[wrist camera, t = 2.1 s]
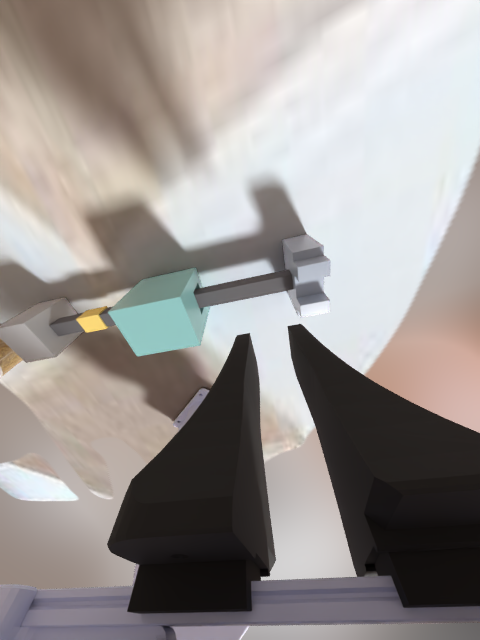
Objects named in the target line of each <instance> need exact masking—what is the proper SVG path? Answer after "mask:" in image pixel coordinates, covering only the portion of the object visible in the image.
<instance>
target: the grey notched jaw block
mask: <svg viewBox="0 0 480 640" xmlns="http://www.w3.org/2000/svg"><path fill="white" fill-rule="evenodd" d="M282 244H283V253H284V262H285V270H290V272H291V274H292V279H293V290H288V295H289V297H290V299H291V302H292V304H293V306H294V308H295V310H296V313H297V315H298V316H301V318H302V317H308V316H313V315H318V314H324V313H329V312H330V300H329V298H328V297H327V296H326V295H325V293H324V277H326V276H330V260H329V259H328V258H327V257H326V256H324V246H323V245H322V244H320V243H319V242H317V241H316V240H315V239H313V238H312V237H310V236H309V235H307V234H305V235H301V236H296V237H292V238H287V239H283V240H282Z"/></svg>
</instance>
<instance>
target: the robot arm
mask: <svg viewBox="0 0 480 640" xmlns="http://www.w3.org/2000/svg"><path fill="white" fill-rule="evenodd" d="M288 333H289V341H290V349H291V358H292V361H293V365H294V369H295V373H296V376H297V379H298V382H299V384H300V387H301V389H302V392H303V395H304V397H305V400H306V402H307V405H308V407H309V410H310V413H311V415H312V418H313V421H314V423H315V426H316V429H317V433H318V436H319V440H320V443H321V447H322V450H323V453H324V457H325V461H326V464H327V468H328V471H329V475H330V478H331V482H332V486H333V489H334V493H335V497H336V500H337V504H338V508H339V511H340V515H341V519H342V523H343V527H344V530H345V534H346V538H347V542H348V546H349V550H350V553H351V557H352V561H353V565H354V568H355V571H356V574H357V577H345V578H322V579H321V578H319V579H295V580H269V581H268V580H267V581H261V577H266V576H270V571H271V569H272V567H273V565H274V563H275V561H276V557H275V550H274V542H273V534H272V527H271V519H270V511H269V503H268V494H267V486H266V477H265V469H264V460H263V451H262V442H261V429H260V387H259V375H258V367H257V361H256V357H255V353H254V349H253V345H252V341H251V337H250V333H248V334H242V335H237V337H236V339H235V341H234V344H233V347H232V349H231V351H230V354H229V356H228V358H227V360H226V362H225V364H224V366H223V368H222V370H221V372H220V374H219V376H218V377H217V379H216V381H215V383H214V384H213V386H212V388H211V389H210V390H207V389H205V388H201V389H200V390H199V391H198V392H197V393H196V395H195V396H194V397H193V398H192V400H191V401H190V402H189V403H188V405H187V406H186V407H185V408H184V410H183V411H182V412H181V413H180V415H179V416H178V417H177V418H176V419H175V421H174V422H173V426H175V427H178V432H177V434H176V435H175V436H174V437H173V438H172V440H171V441H170V442H169V443H168V444H167V445H166V446H165V447H164V448H163V449H162V451H161V452H160V453H159V454H158V455H157V456H156V457H155V458H154V459H153V460H151V461H150V462H149V463H148V464H147V465H146V466H145V468H144V469H142V470H141V471H140V472H139V473H138V474H137V475H136V476H135V477H134V478H133V479H132V481H131V483H130V485H129V488H128V490H127V492H126V495H125V497H124V500H123V503H122V505H121V508H120V511H119V513H118V516H117V519H116V522H115V525H114V527H113V530H112V533H111V536H110V538H109V541H108V543H107V545H108V548H109V550H110V551H111V552H112V553H113V554H115V555H117V556H120V557H122V558H124V559H127V560H129V561H131V562H134V563H136V566H135V571H134V581H133V585H132V586H114V587H91V588H90V587H89V588H63V589H39V590H37V589H36V587H31V586H26V585H16V584H5V585H0V640H240V639H241V638H242V637H243V635H244V634H245V632H246V631H247V629H248V628H249V626H261V625H262V626H263V625H332V624H333V625H335V624H336V625H337V624H404V623H405V624H406V623H407V624H408V623H476V622H477V623H480V433H478V432H476V431H473V430H471V429H469V428H466V427H464V426H462V425H459V424H457V423H454V422H452V421H450V420H448V419H445V418H443V417H441V416H439V415H437V414H434V413H432V412H430V411H428V410H426V409H424V408H422V407H420V406H418V405H416V404H414V403H411V402H410V401H408V400H406V399H404V398H402V397H400V396H398V395H397V394H395V393H393V392H391V391H389V390H388V389H385V388H384V387H382V386H380V385H379V384H377V383H375V382H374V381H372V380H370V379H369V378H367V377H365V376H364V375H362V374H361V373H359V372H358V371H356V370H355V369H353V368H352V367H351V366H349V365H348V364H346V363H345V362H344V361H342V360H341V359H340V358H338V357H337V356H336V355H335V354H333V353H332V352H331V351H330V350H329V349H327V348H326V347H325V346H324V345H323V344H322V343H320V342H319V341H318V340H317V339H316V338H315V337H314V336H313V335H312V334H311V333H310V332H309V331H308V330H307V329H306V328H305V327H304V326H303V325H301V324H298V325H292V326H288Z"/></svg>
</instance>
